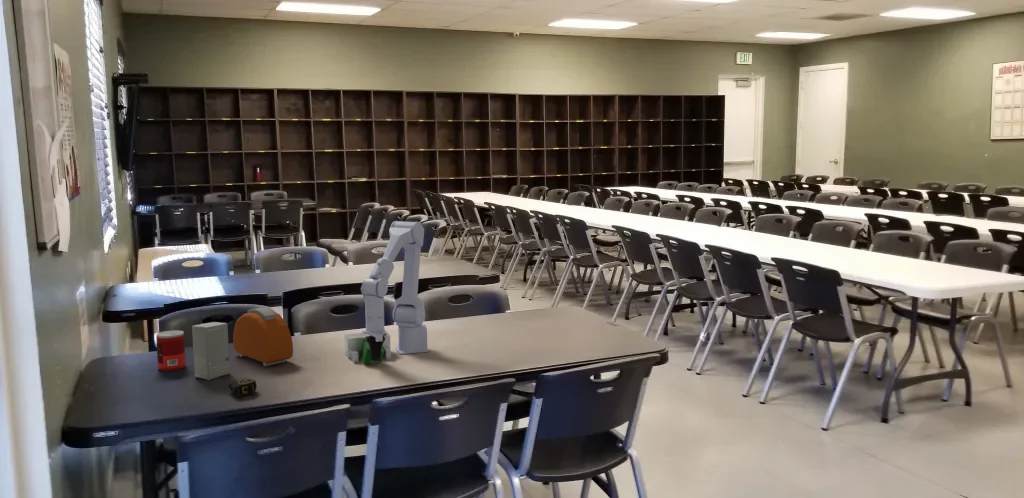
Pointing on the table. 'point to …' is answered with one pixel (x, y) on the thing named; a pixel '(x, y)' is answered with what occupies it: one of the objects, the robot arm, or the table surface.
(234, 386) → the tape measure
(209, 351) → the skincare box
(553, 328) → the table surface
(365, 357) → the clamp
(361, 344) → the motor housing
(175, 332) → the canned food
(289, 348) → the orange toaster
